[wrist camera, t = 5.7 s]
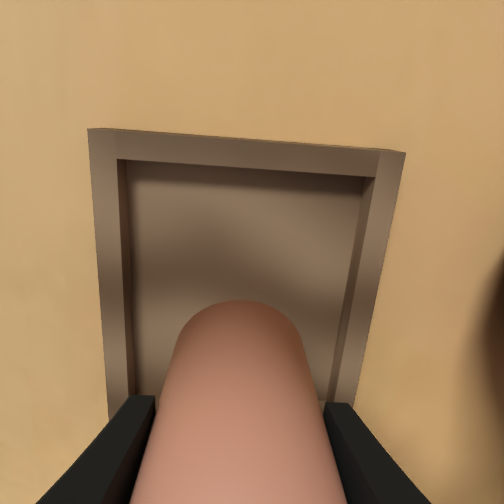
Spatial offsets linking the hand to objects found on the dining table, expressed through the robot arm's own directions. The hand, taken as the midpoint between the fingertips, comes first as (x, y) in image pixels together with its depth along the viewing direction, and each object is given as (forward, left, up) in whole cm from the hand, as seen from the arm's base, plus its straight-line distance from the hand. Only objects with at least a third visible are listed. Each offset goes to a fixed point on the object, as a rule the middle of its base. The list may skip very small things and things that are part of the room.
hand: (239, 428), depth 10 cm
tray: (0, 0, -8) cm, 8 cm away
